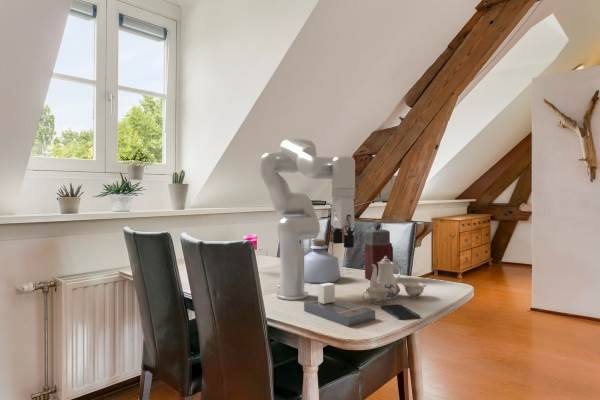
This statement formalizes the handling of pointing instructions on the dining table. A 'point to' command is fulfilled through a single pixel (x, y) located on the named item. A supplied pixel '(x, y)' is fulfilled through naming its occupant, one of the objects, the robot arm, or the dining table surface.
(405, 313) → the phone
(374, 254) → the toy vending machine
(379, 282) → the chinaware
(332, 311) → the fader console
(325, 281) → the bottle
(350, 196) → the robot arm
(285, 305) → the dining table surface
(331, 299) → the fader tab
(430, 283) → the dining table surface
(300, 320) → the dining table surface
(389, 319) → the dining table surface
